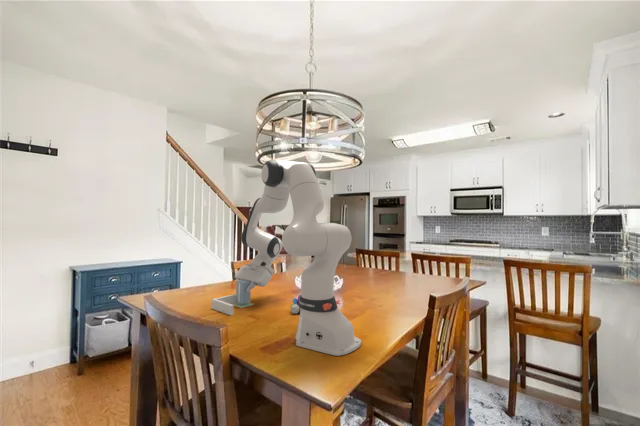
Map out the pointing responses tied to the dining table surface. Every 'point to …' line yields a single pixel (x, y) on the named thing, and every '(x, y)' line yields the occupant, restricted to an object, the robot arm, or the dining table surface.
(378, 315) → the dining table surface
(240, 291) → the block
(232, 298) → the back wall
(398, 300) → the dining table surface
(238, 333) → the dining table surface
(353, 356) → the dining table surface
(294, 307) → the colourful small cluster
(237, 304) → the pad
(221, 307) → the side wall
